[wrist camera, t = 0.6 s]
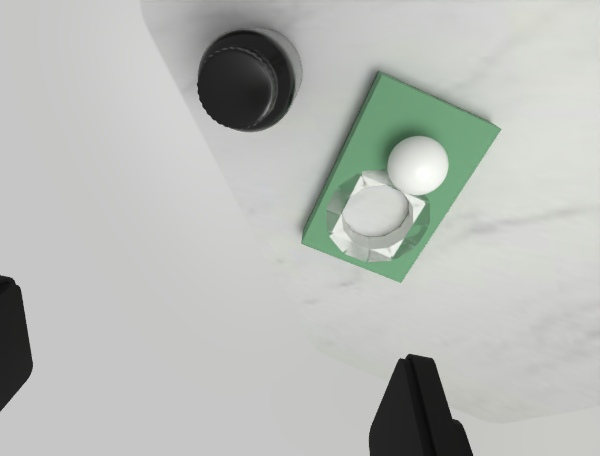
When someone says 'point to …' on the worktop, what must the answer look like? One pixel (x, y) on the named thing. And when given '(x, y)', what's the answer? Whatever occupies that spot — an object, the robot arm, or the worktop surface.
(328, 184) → the green flat slab
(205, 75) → the supplement bottle
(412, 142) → the ball
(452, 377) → the worktop surface
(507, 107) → the worktop surface
